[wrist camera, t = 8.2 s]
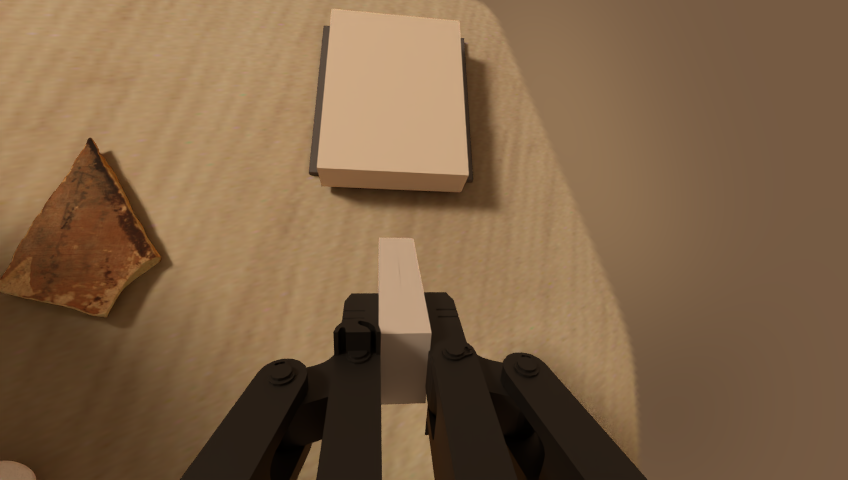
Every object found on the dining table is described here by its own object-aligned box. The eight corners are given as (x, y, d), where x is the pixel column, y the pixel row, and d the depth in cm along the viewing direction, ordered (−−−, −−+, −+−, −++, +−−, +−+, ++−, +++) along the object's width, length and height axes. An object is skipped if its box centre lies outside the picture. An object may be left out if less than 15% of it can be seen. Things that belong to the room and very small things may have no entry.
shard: (103, 149, 28) (86, 133, 26) (209, 176, 28) (199, 163, 26) (9, 295, 24) (-18, 288, 22) (135, 326, 24) (117, 321, 22)
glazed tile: (316, 167, 25) (331, 8, 30) (321, 187, 28) (334, 37, 32) (468, 175, 26) (459, 20, 31) (460, 193, 29) (453, 47, 34)
